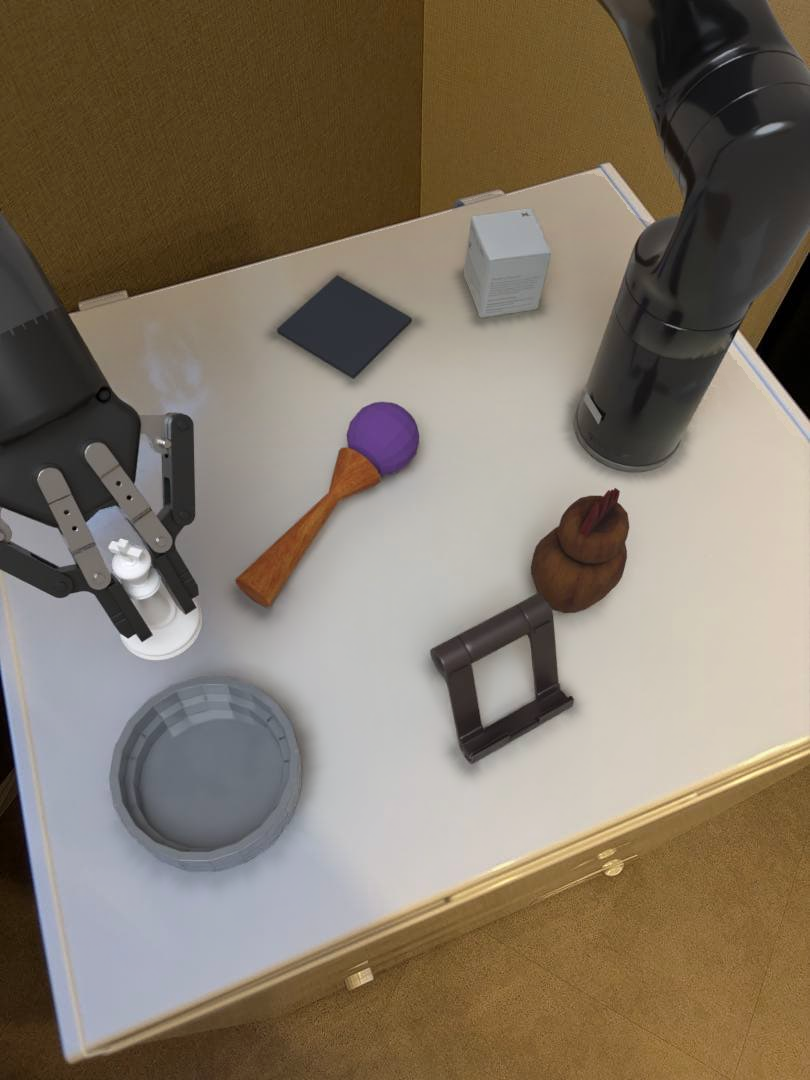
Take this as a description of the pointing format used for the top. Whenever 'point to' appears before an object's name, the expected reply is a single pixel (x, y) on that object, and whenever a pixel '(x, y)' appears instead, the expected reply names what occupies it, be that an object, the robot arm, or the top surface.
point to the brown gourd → (582, 554)
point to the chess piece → (153, 605)
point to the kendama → (338, 491)
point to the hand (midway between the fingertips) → (166, 620)
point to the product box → (506, 262)
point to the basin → (206, 773)
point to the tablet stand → (484, 640)
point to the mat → (344, 326)
